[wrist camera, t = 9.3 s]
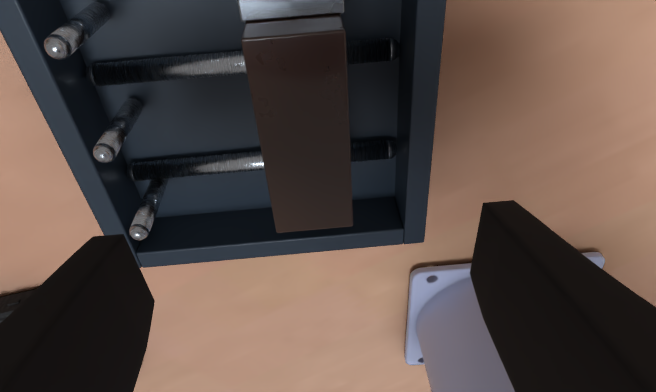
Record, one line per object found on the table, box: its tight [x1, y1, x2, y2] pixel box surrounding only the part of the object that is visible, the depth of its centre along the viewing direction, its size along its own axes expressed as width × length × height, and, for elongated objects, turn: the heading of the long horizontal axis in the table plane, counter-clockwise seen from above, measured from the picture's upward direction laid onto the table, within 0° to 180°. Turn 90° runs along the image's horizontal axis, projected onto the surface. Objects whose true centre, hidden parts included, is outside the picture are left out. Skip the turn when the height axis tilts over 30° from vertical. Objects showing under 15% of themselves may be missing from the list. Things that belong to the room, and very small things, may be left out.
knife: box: [237, 0, 353, 233], centre depth 11 cm, size 3×12×3 cm, turn 4°
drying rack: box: [0, 0, 446, 268], centre depth 12 cm, size 12×18×4 cm, turn 4°
